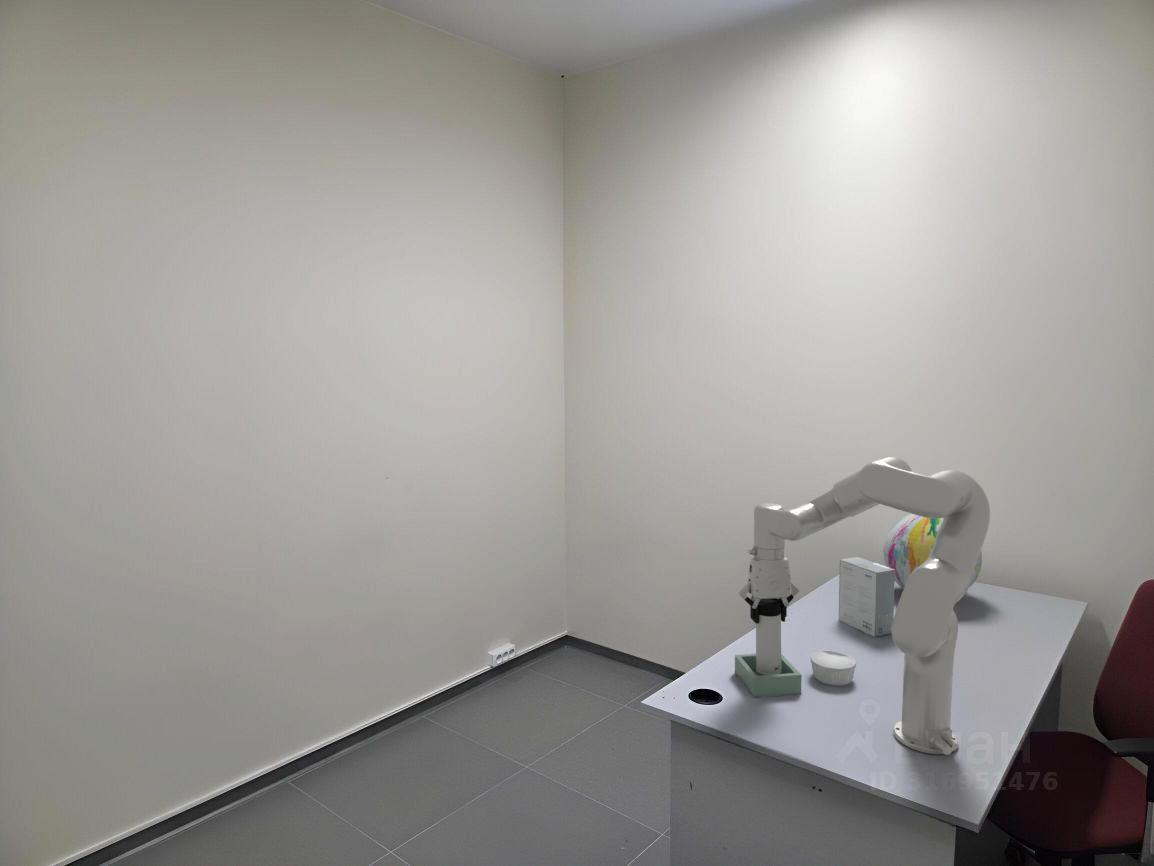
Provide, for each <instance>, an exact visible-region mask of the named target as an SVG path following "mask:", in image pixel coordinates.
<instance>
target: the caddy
mask: <svg viewBox="0 0 1154 866" xmlns="http://www.w3.org/2000/svg"><path fill="white" fill-rule="evenodd" d="M734 674H735V675H736V676H737V678H738V679H739V680H740V681H741V683H742V684H743V686H744V687H745V689H747V692H749V693H750V695H751V696H752V697H753V698H755V699H757V698H765V697H767V698H768V697H777V696H778V697H779V696H789V695H790V696H792V695H801V694H802V674H801V673H800V671H799V670H798V669H796V667H795V666H794V665H793V664H792V663H791V662H790V661H789V660H788V658H786V657H785V656H784V655H783V653H781V674H775V675H762V676H758V675H757V673H756V653H747V654H746V653H745V654H735V655H734Z"/></svg>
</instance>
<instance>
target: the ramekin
mask: <svg viewBox="0 0 1154 866" xmlns="http://www.w3.org/2000/svg"><path fill="white" fill-rule="evenodd" d="M810 663H811V669H812V674H813V676H814V678H815V679H816V680H818V682H820V683H822V684H825V685H828V686H834V687H835V686H836V687H840V686H846V685H848V684H850V683H851V682H852V680H853V678H854V674H855V669H856V667H857V661H856V659H855V658H853V656H851V655H848V654H846V653H844V652H843V653H842V652H841V651H840V652H839V651H836V650H818V651H815V652H813V653H812V654H811V656H810Z"/></svg>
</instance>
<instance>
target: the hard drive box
mask: <svg viewBox="0 0 1154 866" xmlns="http://www.w3.org/2000/svg"><path fill="white" fill-rule="evenodd" d="M838 580H839V582H838V583H839V587H838V588H839V589H838V596H839V597H838V621H841V622H843V623H845V625H846V624H847V625H848V626H851V627H853V628H854V629H857V630H859V631H861V632H863V633H864V634H867V635H869V636H871V637H874V638H877V637H880V636H886V635H890V634H891V635H892V632H891V628H892V622H893V619H894V616H895V614H894V613H895V611H894V610H895V609H894V608H895V583H896V582H895V569H892V568H889V567H886V565H883V564H880V563H877V562H874V561H870V560H868V559H865V558H862V557H858V556H856V557H855V556H854V557H848V558H847V557H846V558H843V559H842V558H841V559H839V579H838Z"/></svg>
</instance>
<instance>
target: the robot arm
mask: <svg viewBox="0 0 1154 866" xmlns="http://www.w3.org/2000/svg"><path fill="white" fill-rule="evenodd" d="M860 469H861V470H859V471H857V472H855V473H852V474H851V475H849V476H847V477H845V478H843V479H841V480H839V481H837V482H835V483H834V484H833V486H832V488H831V489H830V490H829V491H826V493H824V494H821V495H819V496H818V497H816V498H814V499H812V500H810V501H808V502H806V503H803V504H801V505H797V506H795V507H791V508H789V509H788V508H787V509H785V508H784V506H783V505H781V504H778V503H772V502H766V503H765V502H763V503H759V504H757V505H755V507H754V509H753V544H752V548H750V549H748V554H749V555H752V556H751V558H750V562H749V565H748V574H747V583H746V584H745V585H744V586H743V587H742V588H741V589H740V590H739V591H738V593H737V594H738V595H739V596H740V597H741V598H742V599H743V600H744V601H745V602H746V603H747V604H748V605H749V606H750V611H749V612H750V615H749V616H750V619H751V620H752V621H753V622H754V624H755V625H756V624H758V623H759V609H758V608H757V606H758V603H759V601H760V599H775V598H777V599H781V600H782V604H781V603H780V607H781V622H783V623H785V622H786V618H787V616H788V615H787V614H788V613H787V609H788V607H789V604H790V603H791V602H792V601H793V600H794V598H795V597H796V596H797V595H798V593H799V591H800V589H798V587H796V586H795V585H794V584H793V583H792V579H791V578H792V577H791V568H790V562H789V559H788V557H786V556H785V552H786V551H785V549H786V548H785V547H786V546H785V545H786V544H785V542H786V541H785V540H787V541H790V542H792V541H793V542H797V541H800V540H803V539H804V538H806V537H808V536H811V535H814V534H815V533H818V532H820V531H822V530H824V529H827V528H828V527H830V526H833V525H835V524H837V523H839V522H841V521H843V520H845V519H847V518H850V517H851V518H853V517H856V516H857V515H859V514H861V513H864V512H866V511H868V510H869V509H872V508H875V506H879V505H883V506H885V507H889V508H892V509H896V510H898V511H901V512H905V513H909V514H915V515H918V516H922V517H926V518H935V519H937V518H943V517H944V519H943V522H942V524H941V526H940V528H939V530H938V533H937V535H936V539H935V542H934V545H933V548H932V550H931V553H930V555H929V557H928V559H927V560H926V561H925V562H924V563H923V564H921V565H920V566H919V567H917V568H916V569H915V570H914V571H913V572H912V573H911V575H910V576H909V578H908V580H907V582H906V584H905V587H904V589H903V588H902V589H903V590H902V593H901V595H900V597H899V601H898V605H897V607H896V610H895V612H894V613H895V614H894V616H893V622H892V628H891V632H892V633H891V637H892V640H893V643H894V644H895V646H896V647H897V649H898V650H900V651H901V652H902V653H904V657H903V658H904V661H903V673H902V674H903V677H902V678H903V679H902V704H901V706H902V707H901V720H900V721H897V722H896V723H895V724H894V725H893V735H894V737H895V738H896V740H898V741H899V742H900V743H901V744H903V746H906V747H907V748H909V749H912V750H915V751H917V752H921V753H925V754H930V755H946V756H949V755H951V753H952V752H954V751H956V750H957V749H958V748H959V745H958V744H959V743H958V741H959V740H958V738H957V736H956V735H955V733H953V729H951V717H952V699H953V698H952V695H953V676H954V664H955V663H954V662H955V660H954V659H955V651H956V646H957V639H958V632H959V623H958V622H959V621H958V617H957V614H956V612H955V611H954V607H955V605H956V604H957V603H958V602H959V601H960V600H961V599H962V598H963V597H964V596H965V595H966V593H967V592H968V590H969V589H970V587H969V585H970V581H971V578H972V575H973V572H974V569H975V567H976V564H977V561H978V558H979V555H980V552H982V549H983V545H984V543H985V541H986V536H987V534H988V530H989V526H990V520H991V508H990V503H989V500H988V497H987V494H986V493H985V491H984V488H983V487H982V486H981V485H980V484H979V483H978V482H977V481H976V480H975V479H974V478H973V477H971V476H970V475H969V474H967V473H965V472H963V471H959V470H955V469H954V470H953V469H948V470H941V471H938V472H936V473H933V474H932V475H929V476H928V475H924V474H921V473H916V472H913V471H912V468H911V466H910V465H909V464H908V462H906V461H904V460H903V459H901V458H899V457H893V456H890V457H889V456H888V457H887V456H886V457H884V458H880V459H878V460H874V461H872V462H871V461H870V462H868V463H867V464H866V465H864V466H863V467H862V468H860ZM748 593H749V595H750V594H751V596H750V597H749V596H748V595H747V594H748Z"/></svg>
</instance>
